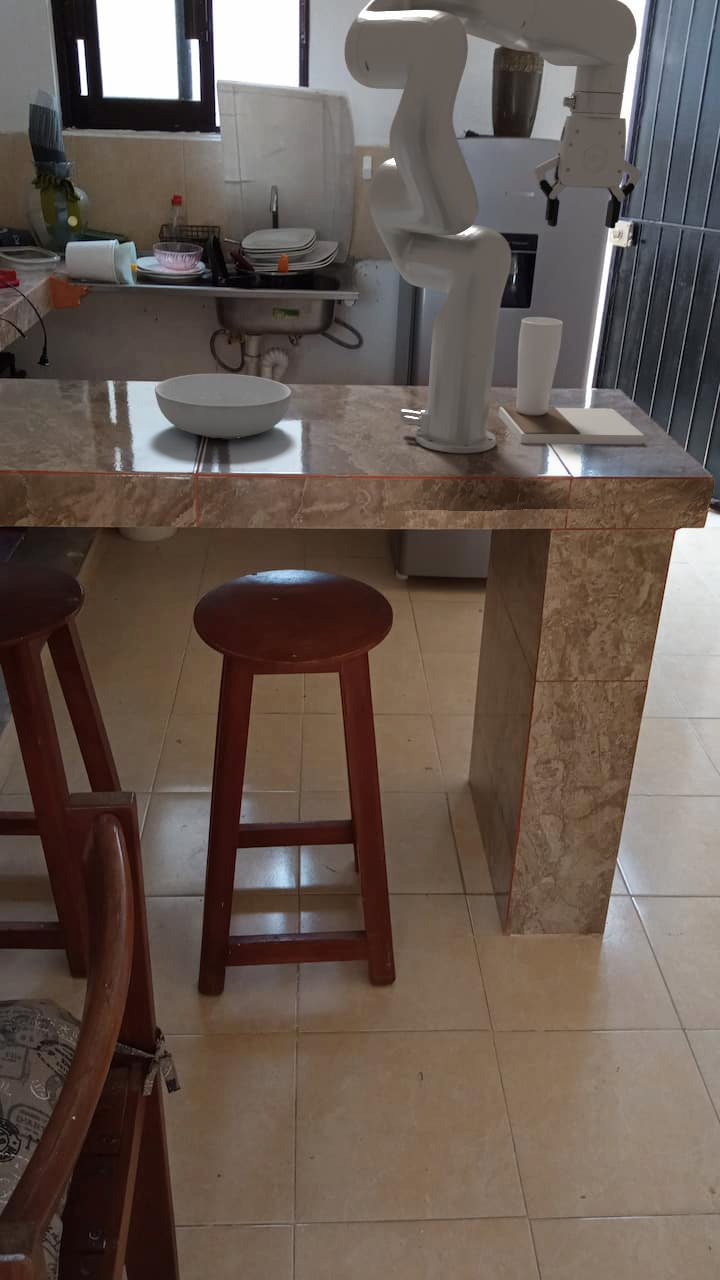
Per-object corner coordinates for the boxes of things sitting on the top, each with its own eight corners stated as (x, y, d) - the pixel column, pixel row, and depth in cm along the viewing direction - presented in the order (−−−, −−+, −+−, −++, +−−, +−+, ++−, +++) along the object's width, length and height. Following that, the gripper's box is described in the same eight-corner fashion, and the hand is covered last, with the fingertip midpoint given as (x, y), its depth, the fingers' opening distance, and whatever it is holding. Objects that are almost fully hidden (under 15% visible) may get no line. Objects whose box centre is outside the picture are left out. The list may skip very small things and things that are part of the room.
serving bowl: (305, 447, 152) (306, 402, 149) (167, 455, 146) (165, 408, 143) (273, 411, 170) (273, 370, 166) (148, 416, 164) (146, 374, 160)
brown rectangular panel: (523, 442, 158) (524, 432, 157) (501, 415, 172) (502, 406, 171) (578, 443, 159) (580, 433, 158) (552, 416, 173) (553, 406, 172)
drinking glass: (543, 420, 164) (555, 326, 157) (504, 413, 167) (514, 320, 160) (557, 411, 169) (569, 320, 162) (519, 405, 172) (529, 315, 165)
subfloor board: (520, 443, 158) (521, 434, 157) (498, 415, 172) (499, 407, 171) (642, 444, 160) (644, 435, 159) (611, 417, 174) (612, 408, 173)
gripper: (548, 104, 149) (534, 227, 157) (659, 109, 151) (640, 230, 159) (535, 104, 156) (523, 222, 164) (642, 109, 158) (624, 226, 166)
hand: (580, 226), depth 162 cm, fingers open, 9 cm apart
